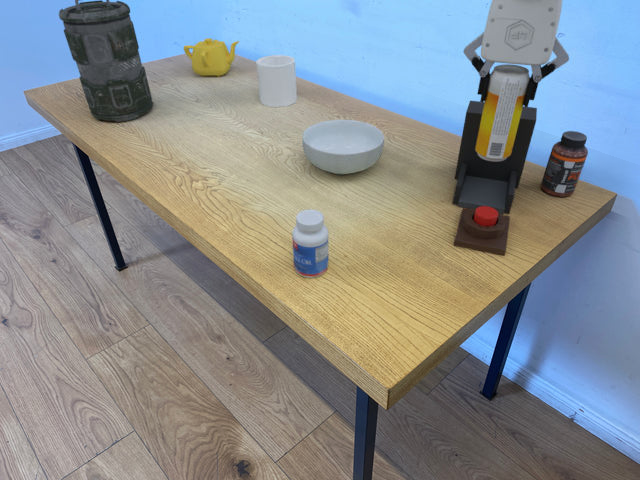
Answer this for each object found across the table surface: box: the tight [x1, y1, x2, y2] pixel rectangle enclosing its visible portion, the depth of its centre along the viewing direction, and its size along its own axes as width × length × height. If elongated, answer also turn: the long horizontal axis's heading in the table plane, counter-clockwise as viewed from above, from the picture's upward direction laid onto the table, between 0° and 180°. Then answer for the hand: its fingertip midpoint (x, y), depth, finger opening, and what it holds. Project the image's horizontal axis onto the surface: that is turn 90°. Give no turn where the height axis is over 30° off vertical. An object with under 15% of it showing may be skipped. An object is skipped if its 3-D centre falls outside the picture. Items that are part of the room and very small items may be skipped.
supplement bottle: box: [540, 130, 589, 198], centre depth 87 cm, size 6×6×11 cm
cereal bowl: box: [301, 119, 385, 175], centre depth 98 cm, size 17×17×7 cm
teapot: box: [183, 37, 240, 77], centre depth 147 cm, size 14×13×10 cm
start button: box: [474, 206, 498, 227], centre depth 78 cm, size 4×4×2 cm
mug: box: [256, 54, 298, 108], centre depth 128 cm, size 14×10×11 cm
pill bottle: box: [291, 208, 330, 279], centre depth 71 cm, size 6×5×10 cm
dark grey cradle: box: [452, 100, 538, 215], centre depth 87 cm, size 12×16×14 cm
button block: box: [453, 207, 511, 256], centre depth 79 cm, size 8×10×3 cm
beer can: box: [475, 63, 531, 162], centre depth 79 cm, size 6×6×15 cm
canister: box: [58, 0, 154, 123], centre depth 118 cm, size 16×16×28 cm
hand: (504, 100), depth 78 cm, fingers closed on beer can, 6 cm apart
